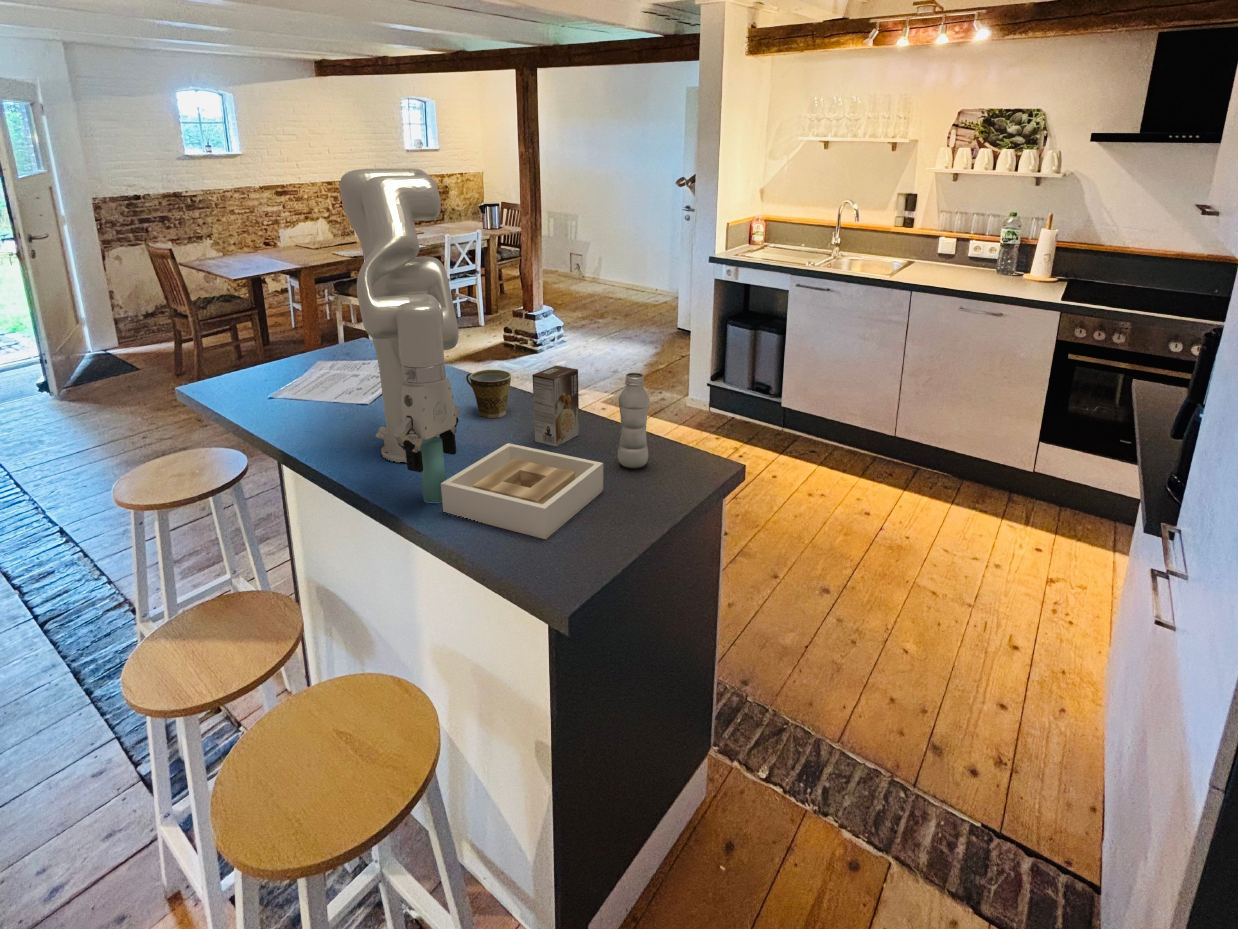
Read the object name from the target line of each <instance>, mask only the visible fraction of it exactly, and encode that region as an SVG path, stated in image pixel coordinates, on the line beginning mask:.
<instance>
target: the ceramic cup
mask: <svg viewBox="0 0 1238 929" xmlns="http://www.w3.org/2000/svg"><path fill="white" fill-rule="evenodd" d="M465 376H466V377H465V379H466V382H467V384H468V385H469V386H470V387H471V388H472V391H473V394H474V397H475V400H476V401H475V402H476V404H477V410H478V413H479V416H480V417H481V416H483V417H482V418H485V417H486V418H485V419H498V418H501V417H505V416H506V415H507V409H508V407H507V406H508V400H509V393H510V388H511V383H512V382H511V380H512V374H511V373H510V372H509V371H506V370H501V369H485V370H483V369H482V370H478V371H475V372H470V373H467V374H466V375H465Z"/></svg>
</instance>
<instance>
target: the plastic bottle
mask: <svg viewBox="0 0 1238 929" xmlns="http://www.w3.org/2000/svg"><path fill="white" fill-rule="evenodd" d="M625 374H626V375H625V382H624V384H625V385H626V386H625V387H624V388H623V390H622V391H621V393H620V394H619V396H618V407H619V415H620V435H619V436H620V439H619V444H618V449H617V458H618V462H619V463H620V465H621V466H622V467H623V468H628V469H640V468H644V467H645V465H646V464H647V462H648V459H649V448H648V445H647V444H648V443H647V442H648V441H647V440H648V439H647V425H648V424H647V422H648V414H649V407H650V403H651V402H650V397H649V394H648V392H647V391H646V390H645V388H644V387H643V386H644V385H645V381H644V379H645V378H644V374H643V373H639V372H627V373H625Z"/></svg>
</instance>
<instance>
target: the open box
mask: <svg viewBox="0 0 1238 929" xmlns="http://www.w3.org/2000/svg"><path fill="white" fill-rule="evenodd" d="M513 459H517V460H521V461H526V462H531V463H535V464H540V465H544V466H549V467H554V468H558V469H563V470H567V471H572V472H575V480H574V481H572V482H571V483H570V484H568V485H567V486H566V487H565V488H563V489H562V490H561V491H559V492H558V493H557V494H556V495H554V496H553V497H552V498H550V499H549V500H548V501H546V502H545V503H544V504H539V503H534V502H530V501H526V500H522V499H518V498H514V497H510V496H505V495H501V494H497V493H493V492H489V491H485V490H481V489H476V488H473V487H472V485H474V484H475V483H477V482H478V481H480V480H482V479H483V478H485V477H486V476H488V475H489V474H491V473H493V472H494V471H496V470H497V469H499V468H500V467H502V466H504V465H505V464H507V463H508V462H510V461H511V460H513ZM445 480H446V481H444V482H442V483H441V491H442V503H441V504H442V511H443V512H447V513H451V514H454V515H457V516H456V517H458V516H462V517H464V518H463V519H465V518H468V519H467V520H469V519H471V520H470V521H473V520H475V522H477V521H478V522H477V523H481V522H482V524H484V525H488V526H489V525H490V526H491V527H492V526H493V527H497V528H501V529H505V530H508V531H512V532H516V533H520V534H523V535H527V536H532V537H535V538H538V539H543V540H547V539H548V538H549V537H551V536H552V535H553V534H554V533H555V532H557V530H559V529H560V528H561V527H562V526H564V525H565V524H566V523H567V522H568V521H569V520H571V519H572V518H573V517H574V516H575V515H577V513H579V512H580V511H581V510H582V509H584V508H585V507H586V506H587V505H588V504H589V503H590V502H592V501H593V500H595V498H596V497H598V496H599V495H600V494H601V493H602V492H603V491H604V462H599V461H596V460H595V461H594V460H589V459H585V458H581V457H576V456H571V455H566V454H563V453H556V452H551V451H548V450H542V449H538V448H533V447H528V446H524V445H518V444H513V443H506V444H504V445H502V446H500V447H499V448H498V449H496V450H494V451H492V452H491V453H489V454H488V455H486V456H484V457H482V458H481V459H479V460H477V461H475V462H474V463H472V464H470V465H469V466H467V467H465V468H463V470H461V471H459V472H457V473H456V474H454V475H452V476H451V477H449V478H447V479H445ZM454 515H453V516H454ZM462 517H461V518H462Z"/></svg>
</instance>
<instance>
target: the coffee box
mask: <svg viewBox="0 0 1238 929" xmlns="http://www.w3.org/2000/svg"><path fill="white" fill-rule="evenodd" d="M531 377H532V395H533V418H534V420H533V421H534V441H535V442H537V443H540V444H545V445H548V446H551V447H556V448H557V447H559V446H561V445H562V444H565V443H566V442H568V441H570V440H572V439H573V438H576V437H577V436H579V435H580V419H579V418H580V417H579V414H580V413H579V412H580V411H579V410H580V407H579V402H580V401H579V400H580V399H579V369H578V368H572V367H567V366H562V365H553V366H550V367H549V368H545V369H543V370H541V371H538V372H536V373H533V374H532V376H531Z"/></svg>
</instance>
